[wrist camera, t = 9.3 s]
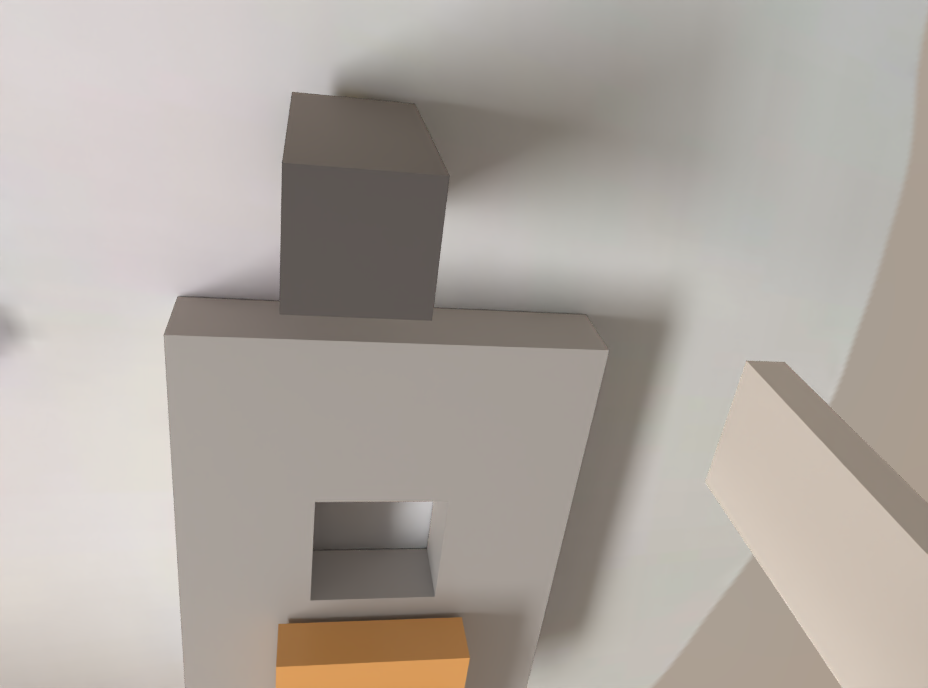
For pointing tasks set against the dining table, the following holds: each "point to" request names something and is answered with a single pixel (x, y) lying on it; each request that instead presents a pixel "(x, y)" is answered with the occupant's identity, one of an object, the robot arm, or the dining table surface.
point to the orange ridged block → (373, 654)
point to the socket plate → (371, 473)
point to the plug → (360, 210)
